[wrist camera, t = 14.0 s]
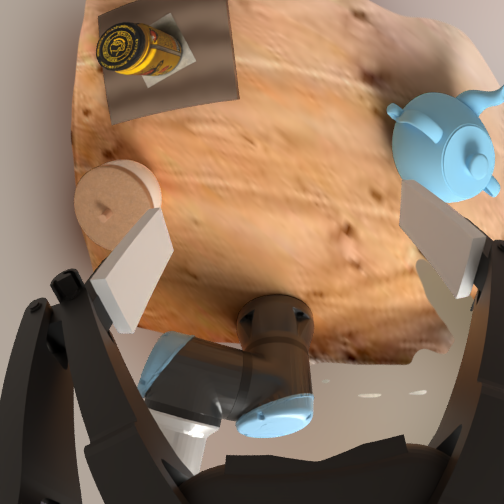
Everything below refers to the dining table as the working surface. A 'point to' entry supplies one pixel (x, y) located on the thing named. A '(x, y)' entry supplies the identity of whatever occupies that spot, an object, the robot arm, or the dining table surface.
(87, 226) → the lidded bowl
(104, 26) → the grey flat square piece
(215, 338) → the dining table surface
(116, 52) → the condiment
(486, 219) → the dining table surface
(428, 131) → the teapot
